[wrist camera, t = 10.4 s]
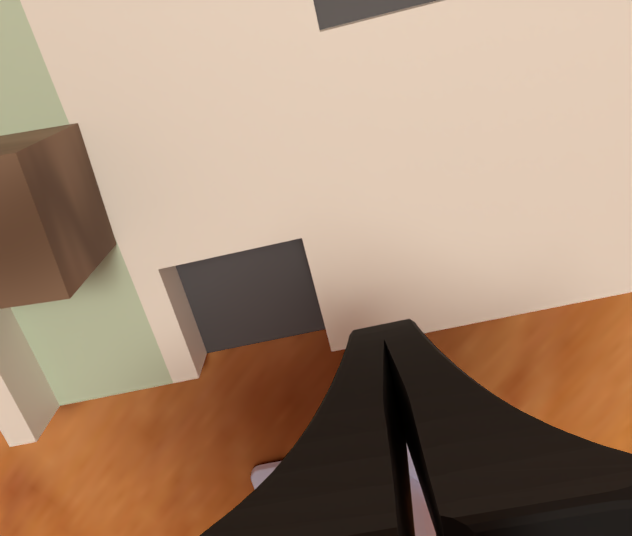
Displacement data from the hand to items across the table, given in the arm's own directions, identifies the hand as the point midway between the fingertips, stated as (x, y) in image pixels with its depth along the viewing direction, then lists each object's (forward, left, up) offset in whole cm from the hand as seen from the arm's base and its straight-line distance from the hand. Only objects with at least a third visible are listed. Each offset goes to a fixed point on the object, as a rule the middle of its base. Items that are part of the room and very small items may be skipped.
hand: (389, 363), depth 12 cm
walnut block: (+4, +10, -7) cm, 13 cm away
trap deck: (+4, 0, -9) cm, 10 cm away
